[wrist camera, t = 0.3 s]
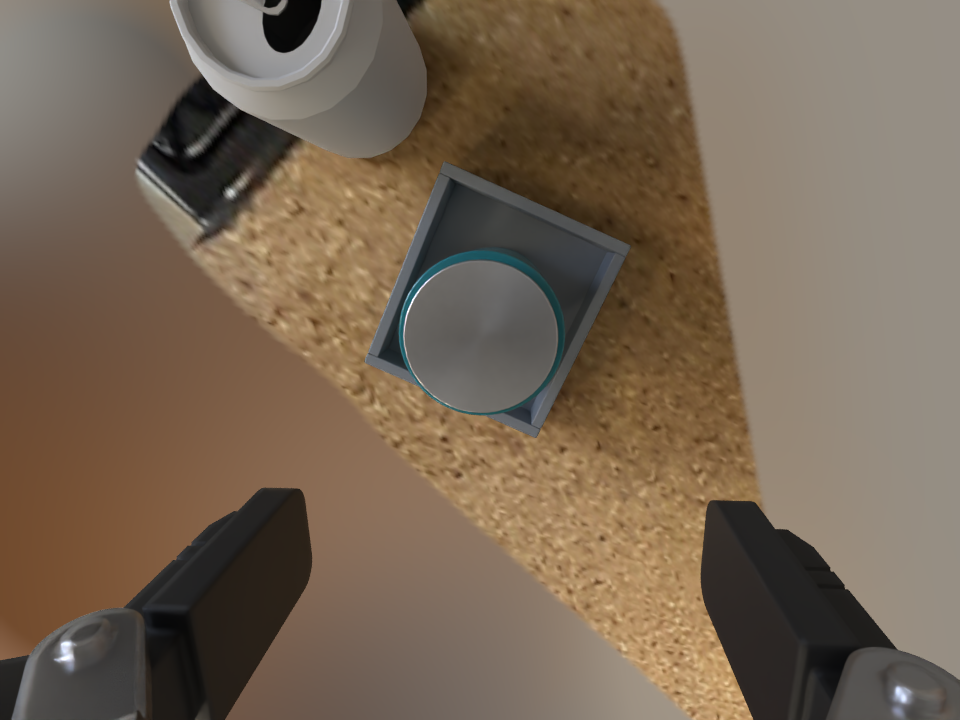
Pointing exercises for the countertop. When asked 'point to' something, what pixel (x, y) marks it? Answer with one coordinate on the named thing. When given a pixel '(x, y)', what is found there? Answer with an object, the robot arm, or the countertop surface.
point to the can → (312, 67)
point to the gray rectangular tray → (517, 226)
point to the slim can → (482, 331)
